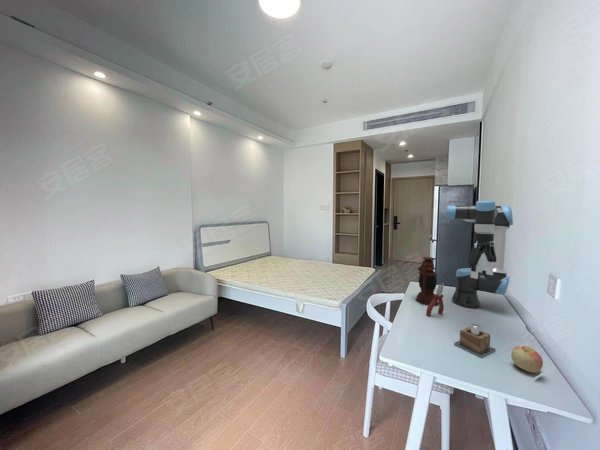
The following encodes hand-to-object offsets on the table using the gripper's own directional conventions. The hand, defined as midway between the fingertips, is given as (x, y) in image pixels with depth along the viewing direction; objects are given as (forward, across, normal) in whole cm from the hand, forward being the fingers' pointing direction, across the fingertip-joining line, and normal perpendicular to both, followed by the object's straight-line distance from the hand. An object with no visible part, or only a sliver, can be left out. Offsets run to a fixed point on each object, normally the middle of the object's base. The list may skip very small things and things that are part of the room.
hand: (481, 276), depth 117 cm
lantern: (+29, -14, -38) cm, 50 cm away
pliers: (+29, 0, -23) cm, 37 cm away
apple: (+29, +14, +23) cm, 40 cm away
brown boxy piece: (+28, +16, +6) cm, 32 cm away
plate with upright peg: (+29, +16, +6) cm, 33 cm away
